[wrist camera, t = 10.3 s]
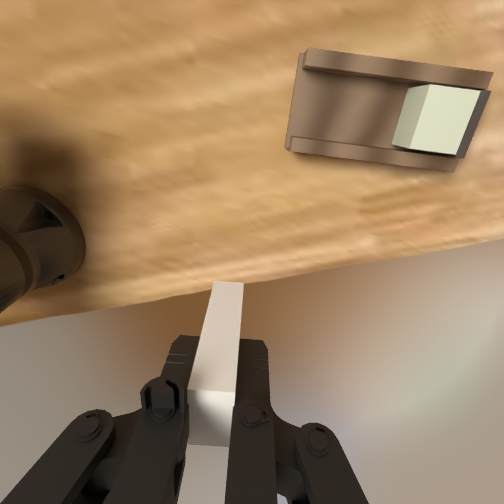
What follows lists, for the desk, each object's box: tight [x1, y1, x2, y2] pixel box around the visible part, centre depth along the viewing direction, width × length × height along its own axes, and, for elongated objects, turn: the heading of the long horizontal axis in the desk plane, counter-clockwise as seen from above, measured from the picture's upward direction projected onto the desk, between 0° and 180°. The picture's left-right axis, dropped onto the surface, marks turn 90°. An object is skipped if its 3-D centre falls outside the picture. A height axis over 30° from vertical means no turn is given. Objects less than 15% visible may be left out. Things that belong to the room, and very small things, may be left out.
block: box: [392, 84, 481, 155], centre depth 33 cm, size 5×6×5 cm
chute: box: [285, 48, 494, 172], centre depth 34 cm, size 20×10×4 cm, turn 83°
